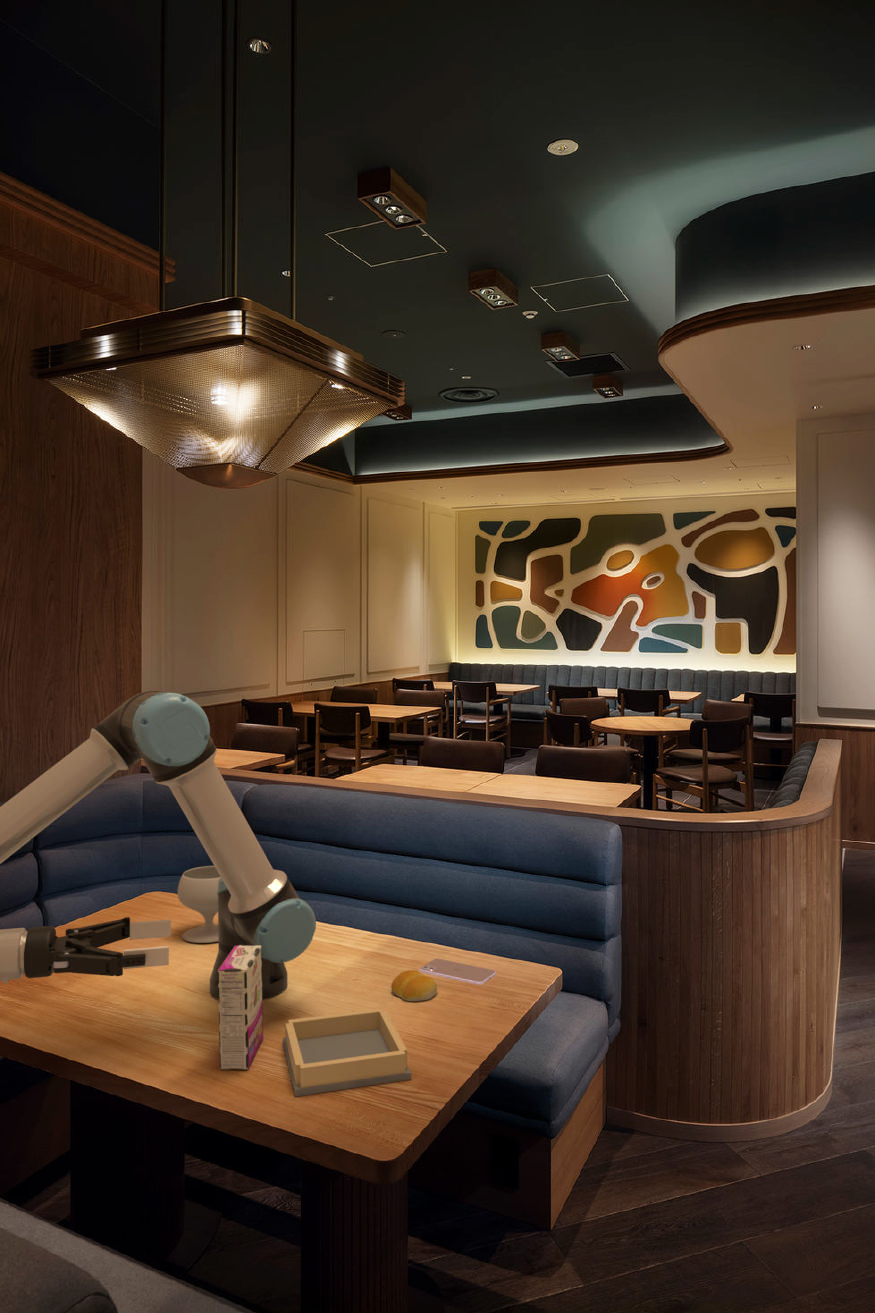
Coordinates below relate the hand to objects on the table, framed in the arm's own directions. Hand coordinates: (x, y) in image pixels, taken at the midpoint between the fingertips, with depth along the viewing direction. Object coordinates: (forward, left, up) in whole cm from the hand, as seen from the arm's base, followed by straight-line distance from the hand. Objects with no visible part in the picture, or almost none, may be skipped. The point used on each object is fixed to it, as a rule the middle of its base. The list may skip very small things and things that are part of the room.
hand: (170, 941), depth 138 cm
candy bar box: (0, +11, -20) cm, 23 cm away
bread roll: (-16, +45, -20) cm, 52 cm away
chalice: (-62, +7, -20) cm, 66 cm away
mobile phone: (-24, +56, -21) cm, 65 cm away
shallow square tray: (+7, +27, -20) cm, 34 cm away
